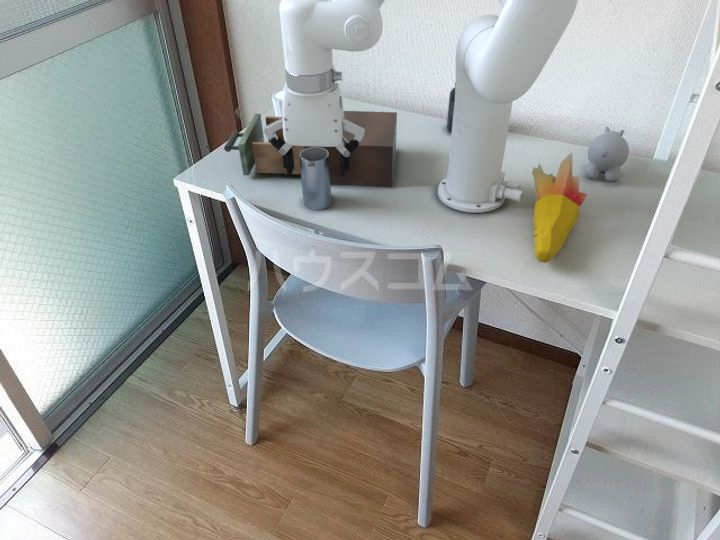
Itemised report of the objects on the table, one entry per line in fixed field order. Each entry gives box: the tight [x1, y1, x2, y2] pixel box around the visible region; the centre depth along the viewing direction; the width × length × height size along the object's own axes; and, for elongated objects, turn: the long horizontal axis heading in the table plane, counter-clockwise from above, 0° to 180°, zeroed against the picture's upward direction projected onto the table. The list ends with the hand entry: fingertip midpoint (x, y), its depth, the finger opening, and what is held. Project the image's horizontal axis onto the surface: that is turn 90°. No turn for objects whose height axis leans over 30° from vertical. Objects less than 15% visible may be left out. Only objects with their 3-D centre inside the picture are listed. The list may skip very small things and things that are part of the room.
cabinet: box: [304, 110, 398, 188], centre depth 114 cm, size 17×15×9 cm
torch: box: [531, 151, 588, 264], centre depth 97 cm, size 8×8×25 cm
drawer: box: [223, 113, 304, 176], centre depth 116 cm, size 20×13×7 cm
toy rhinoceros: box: [584, 126, 630, 183], centre depth 112 cm, size 7×12×8 cm, turn 153°
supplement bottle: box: [446, 81, 456, 134], centre depth 125 cm, size 7×7×12 cm
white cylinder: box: [271, 88, 284, 117], centre depth 130 cm, size 7×7×7 cm
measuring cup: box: [299, 147, 333, 211], centre depth 103 cm, size 6×5×10 cm
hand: (317, 172), depth 103 cm, fingers open, 9 cm apart
